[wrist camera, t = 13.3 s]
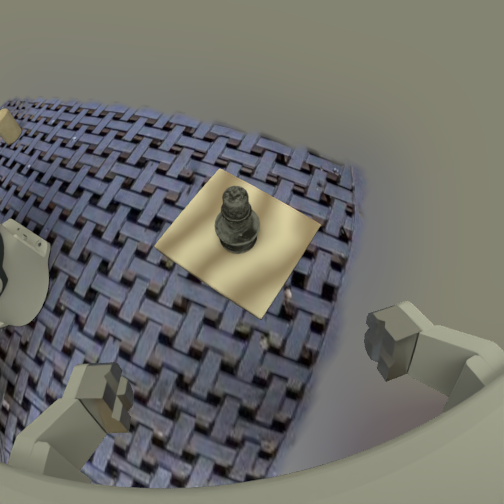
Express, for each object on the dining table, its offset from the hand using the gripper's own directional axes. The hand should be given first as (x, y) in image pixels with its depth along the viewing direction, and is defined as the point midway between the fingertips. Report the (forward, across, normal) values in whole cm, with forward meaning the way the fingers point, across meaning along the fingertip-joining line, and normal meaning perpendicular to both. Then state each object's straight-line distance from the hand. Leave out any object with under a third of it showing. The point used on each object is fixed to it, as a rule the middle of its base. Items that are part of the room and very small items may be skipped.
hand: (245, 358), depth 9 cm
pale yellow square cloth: (+33, -2, +9) cm, 34 cm away
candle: (+62, +51, -21) cm, 83 cm away
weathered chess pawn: (+32, -2, +8) cm, 33 cm away
